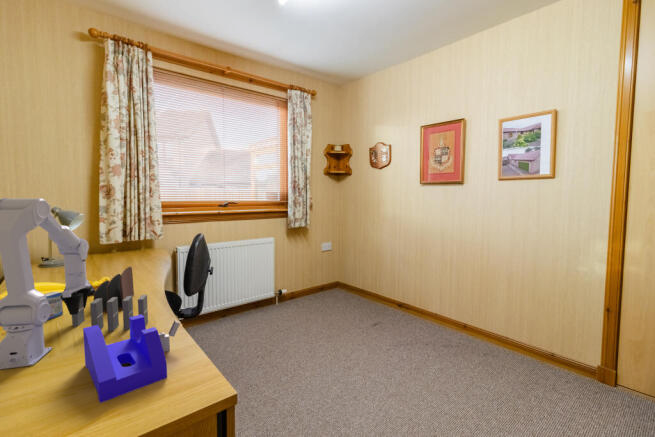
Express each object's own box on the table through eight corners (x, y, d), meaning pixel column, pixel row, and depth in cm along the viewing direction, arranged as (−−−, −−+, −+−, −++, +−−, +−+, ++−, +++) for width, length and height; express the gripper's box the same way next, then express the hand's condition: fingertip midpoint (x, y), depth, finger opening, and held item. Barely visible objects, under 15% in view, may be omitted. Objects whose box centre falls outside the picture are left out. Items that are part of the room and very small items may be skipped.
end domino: (144, 328, 106) (143, 299, 106) (138, 328, 106) (137, 299, 105) (148, 322, 111) (146, 294, 110) (142, 322, 111) (141, 295, 110)
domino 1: (78, 326, 107) (76, 297, 107) (72, 326, 107) (70, 298, 106) (84, 320, 112) (82, 293, 111) (79, 321, 112) (77, 293, 111)
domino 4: (129, 329, 105) (127, 300, 104) (123, 330, 104) (122, 300, 104) (133, 323, 110) (132, 295, 109) (128, 324, 109) (127, 296, 108)
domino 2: (97, 333, 102) (96, 303, 102) (91, 333, 102) (90, 303, 101) (103, 326, 107) (102, 298, 106) (98, 327, 107) (96, 298, 106)
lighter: (153, 354, 89) (152, 327, 88) (153, 352, 90) (151, 325, 90) (181, 347, 93) (180, 321, 92) (179, 345, 94) (178, 319, 94)
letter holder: (134, 295, 141) (132, 264, 140) (124, 310, 123) (122, 274, 122) (107, 297, 137) (106, 265, 136) (93, 313, 119) (91, 277, 118)
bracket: (85, 366, 83) (83, 328, 82) (143, 348, 93) (141, 314, 92) (100, 404, 68) (97, 358, 68) (167, 378, 78) (165, 338, 77)
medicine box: (40, 323, 110) (38, 298, 109) (30, 321, 111) (28, 297, 110) (63, 314, 118) (62, 291, 117) (54, 313, 119) (52, 291, 118)
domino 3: (113, 331, 104) (112, 301, 103) (107, 331, 103) (106, 302, 102) (118, 325, 108) (117, 297, 108) (113, 325, 108) (112, 297, 107)
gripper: (79, 277, 102) (82, 317, 103) (97, 267, 116) (99, 303, 117) (53, 279, 100) (56, 320, 101) (74, 268, 114) (77, 305, 115)
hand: (77, 311), depth 109 cm, fingers closed on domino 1, 5 cm apart
